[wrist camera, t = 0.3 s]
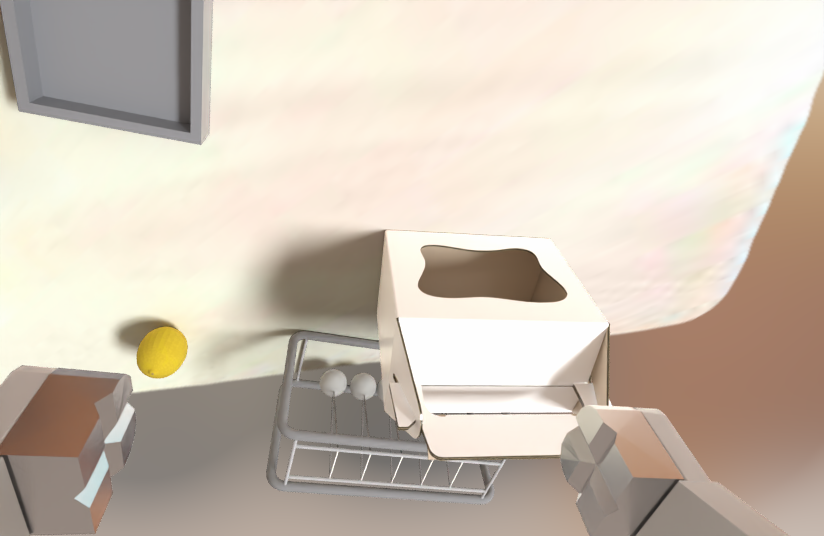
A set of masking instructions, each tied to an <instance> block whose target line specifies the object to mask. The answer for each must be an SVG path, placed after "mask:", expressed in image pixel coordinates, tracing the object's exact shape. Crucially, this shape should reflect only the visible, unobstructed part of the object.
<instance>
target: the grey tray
mask: <svg viewBox="0 0 824 536" xmlns="http://www.w3.org/2000/svg"><path fill="white" fill-rule="evenodd" d="M0 5H1V11H2V17H3V23H4V29H5V34H6V40H7V46H8V52H9V57H10V63H11V69H12V75H13V81H14V86H15V92H16V98H17V104H18V110H19V111H20V112H26V113H31V114H37V115H42V116H48V117H53V118H58V119H64V120H69V121H75V122H80V123H85V124H91V125H96V126H102V127H107V128H113V129H118V130H123V131H129V132H134V133H140V134H145V135H150V136H156V137H161V138H167V139H172V140H178V141H183V142H188V143H194V144H199V145H201V144H202V143H203V142H204V140H205V139H206V138H207V136H208V135H209V126H210V88H211V51H212V14H213V0H0Z"/></svg>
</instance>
